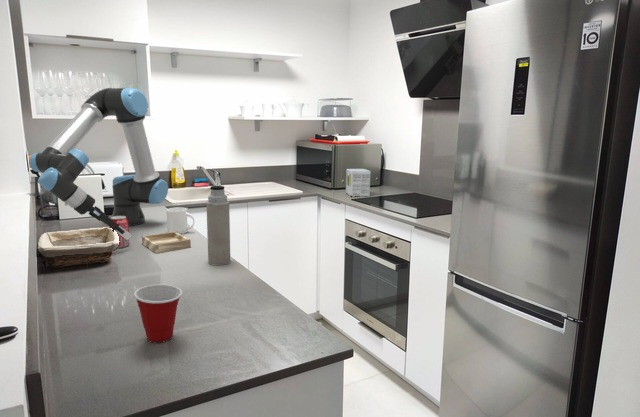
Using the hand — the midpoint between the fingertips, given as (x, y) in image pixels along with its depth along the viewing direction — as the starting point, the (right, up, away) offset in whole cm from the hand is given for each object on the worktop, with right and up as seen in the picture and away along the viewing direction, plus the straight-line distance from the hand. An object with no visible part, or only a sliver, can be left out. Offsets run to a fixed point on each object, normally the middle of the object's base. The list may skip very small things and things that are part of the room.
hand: (124, 233), depth 185 cm
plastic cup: (+41, -21, -74) cm, 87 cm away
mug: (+16, -1, +22) cm, 28 cm away
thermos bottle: (+42, -9, -17) cm, 46 cm away
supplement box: (+105, +19, +125) cm, 164 cm away
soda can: (-2, -5, 0) cm, 5 cm away
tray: (+16, -5, +2) cm, 17 cm away
